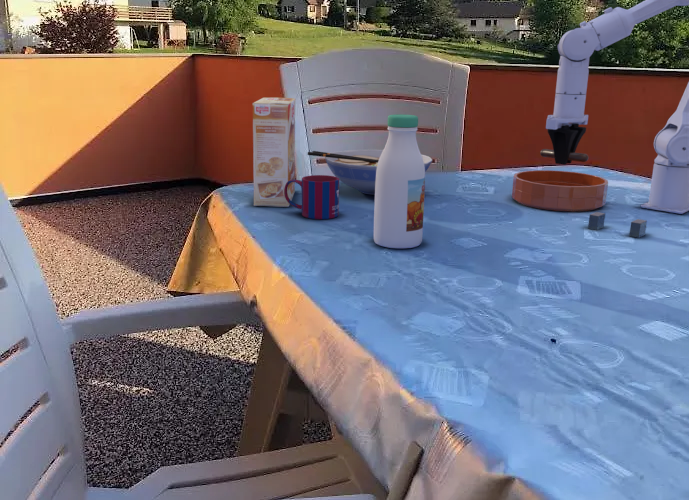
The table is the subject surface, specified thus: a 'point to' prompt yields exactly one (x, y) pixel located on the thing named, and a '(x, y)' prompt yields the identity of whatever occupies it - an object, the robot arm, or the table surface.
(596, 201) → the bowl
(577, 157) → the brown rod
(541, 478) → the table surface
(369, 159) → the ramen bowl
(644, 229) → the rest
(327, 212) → the mug
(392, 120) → the milk bottle
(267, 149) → the coffeecake box
